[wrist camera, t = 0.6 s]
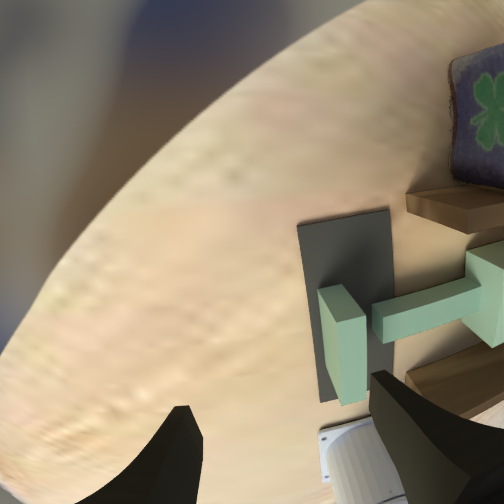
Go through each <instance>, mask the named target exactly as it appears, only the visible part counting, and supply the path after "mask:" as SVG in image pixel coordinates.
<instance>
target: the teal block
mask: <svg viewBox="0 0 504 504" xmlns="http://www.w3.org/2000/svg"><path fill="white" fill-rule="evenodd" d="M317 291H318V299H319V307H320V316H321V325H322V334H323V343H324V353H325V363H326V367H327V370H328V372H329V375H330V378H331V380H332V383H333V385H334V388H335V391H336V393H337V396H338V398H339V401H340V404H341V406H343V405H347V404H351V403H355V402H358V401H362V400H365V399H367V328H366V315H365V313H364V312H363V311H362V309H361V308H360V307H359V305H358V304H357V303H356V302H355V300H354V299H353V298H352V296H351V295H350V294H349V293H348V291H347V290H346V289H345V287H344V286H343V285H342V284H339V285H334V286H330V287H325V288H321V289H317ZM460 318H461V322H462V323H464V324H465V325H466V326H467V327H468V328H470V329H471V330H472V331H473V332H474V333H475V334H477V335H478V336H479V337H480V338H481V339H482V340H483V341H485V342H486V343H487V344H488V345H489V346H490V347H491V348H494V347H495V346H497V345H499V344H501V343H503V342H504V240H502V241H499V242H495V243H492V244H488V245H485V246H481V247H478V248H474V249H471V250H467V251H466V264H465V277H464V278H461V279H458V280H455V281H452V282H448V283H445V284H442V285H439V286H435V287H432V288H429V289H425V290H422V291H418V292H415V293H411V294H408V295H404V296H401V297H397V298H393V299H389V300H386V301H382V302H378V303H374V304H372V330H373V331H374V332H375V334H376V335H377V336H378V338H379V339H380V341H381V342H382V343H383V344H385V343H388V342H392V341H395V340H398V339H401V338H405V337H408V336H411V335H414V334H417V333H420V332H423V331H426V330H429V329H432V328H435V327H438V326H440V325H443V324H446V323H449V322H452V321H454V320H457V319H460Z"/></svg>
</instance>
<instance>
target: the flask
mask: <svg viewBox="0 0 504 504" xmlns="http://www.w3.org/2000/svg"><path fill="white" fill-rule="evenodd" d="M448 83H450V84H451V85H450V87H451V89H450V90H451V96H450V97H451V98H450V106H449V109H450V116H451V120H452V123H453V129H452V130H450V132H451V135H452V143H451V146H450V147H449V148H450V156H449V157H450V158H449V163H448V165H449V168H450V171H451V172H452V175H453V179H458V180H460V181H462V182H466V183H472V184H476V185H484V186H489V187H495V188H500V189H504V43H503V44H499V45H496V46H494V47H490V48H486V49H484V50H481V51H479V52H476V53H473V54H470V55H467V56H463V57H460V58H457V59H455V60H453V61H452V62H451V63H450V67H449V71H448Z"/></svg>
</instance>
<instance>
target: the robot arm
mask: <svg viewBox="0 0 504 504" xmlns="http://www.w3.org/2000/svg"><path fill="white" fill-rule="evenodd" d="M369 410H370V413H371V417H368V418H364V419H361V420H358V421H354V422H350V423H347V424H343V425H339V426H335V427H331V428H327V429H323V430H320V431H319V432H318V443H319V453H320V463H321V474H322V482H323V483H330V482H331V484H332V488H333V492H334V496H335V500H336V504H504V429H501V428H496V427H492V426H487V425H484V424H480V423H477V422H474V421H471V420H468V419H465V418H462V417H460V416H458V415H455V414H453V413H451V412H449V411H447V410H445V409H443V408H441V407H439V406H437V405H435V404H434V403H432V402H430V401H429V400H427V399H425V398H424V397H422V396H421V395H419V394H418V393H416V392H415V391H413V390H412V389H411V388H409V387H408V386H406V385H405V384H404V383H402V382H401V381H400V380H398V379H397V378H396V377H394V376H393V375H392V374H390V373H389V372H388V371H386V370H385V369H384V370H381V371H377V372H374V373H370V398H369ZM323 437H324V438H323ZM202 461H203V436H202V434H201V432H200V430H199V427H198V425H197V423H196V421H195V418H194V416H193V414H192V411H191V409H190V406H189V405H187V406H175V407H174V408H173V409H172V411H171V412H170V413H169V415H168V416H167V418H166V419H165V421H164V422H163V424H162V425H161V426H160V428H159V429H158V431H157V432H156V433H155V435H154V436H153V437H152V439H151V440H150V441H149V443H148V444H147V445H146V446H145V447H144V449H143V450H142V451H141V452H140V453H139V455H138V456H137V457H136V458H135V459H134V460H133V461H132V462H131V463H130V464H129V465H128V466H127V467H126V468H125V469H124V470H123V471H122V472H121V473H120V474H119V475H118V476H116V477H115V478H114V479H113V480H111V481H110V482H109V483H107V484H106V485H105V486H103V487H102V488H101V489H99V490H98V491H96V492H95V493H93V494H91V495H90V496H88V497H86V498H85V499H83V500H81V501H79V502H77V503H75V504H196V501H197V494H198V488H199V481H200V475H201V468H202Z"/></svg>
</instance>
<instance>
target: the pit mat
mask: <svg viewBox="0 0 504 504" xmlns="http://www.w3.org/2000/svg"><path fill="white" fill-rule="evenodd" d="M297 232H298V238H299V244H300V251H301V257H302V263H303V270H304V277H305V284H306V291H307V298H308V305H309V312H310V320H311V327H312V335H313V343H314V352H315V360H316V369H317V378H318V387H319V397H320V402H321V403H322V402H327V401H331V400H335V399H339V398H338V396H337V393H336V391H335V388H334V385H333V383H332V380H331V378H330V375H329V372H328V370H327V367H326V363H325V353H324V343H323V334H322V325H321V316H320V307H319V299H318V291H317V289H321V288H325V287H330V286H334V285H339V284H342V285H343V286H344V287H345V289H346V290H347V291H348V293H349V294H350V295H351V296H352V298H353V299H354V300H355V302H356V303H357V304H358V305H359V307H360V308H361V309H362V311H363V312H364V313H365V315H366V328H367V391H368V390H370V373H374V372H377V371H381V370H384V369H385V370H386V371H388V372H389V373H390V374H392V365H393V344H394V341H392V342H388V343H385V344H383V343H382V342H381V341H380V339H379V338H378V336H377V335H376V334H375V332H374V331H373V330H372V304H374V303H378V302H382V301H386V300H389V299H393V298H394V274H393V253H392V237H391V225H390V214H389V210H382V211H376V212H371V213H365V214H360V215H354V216H349V217H343V218H338V219H333V220H327V221H322V222H317V223H311V224H306V225H301V226H297Z"/></svg>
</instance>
